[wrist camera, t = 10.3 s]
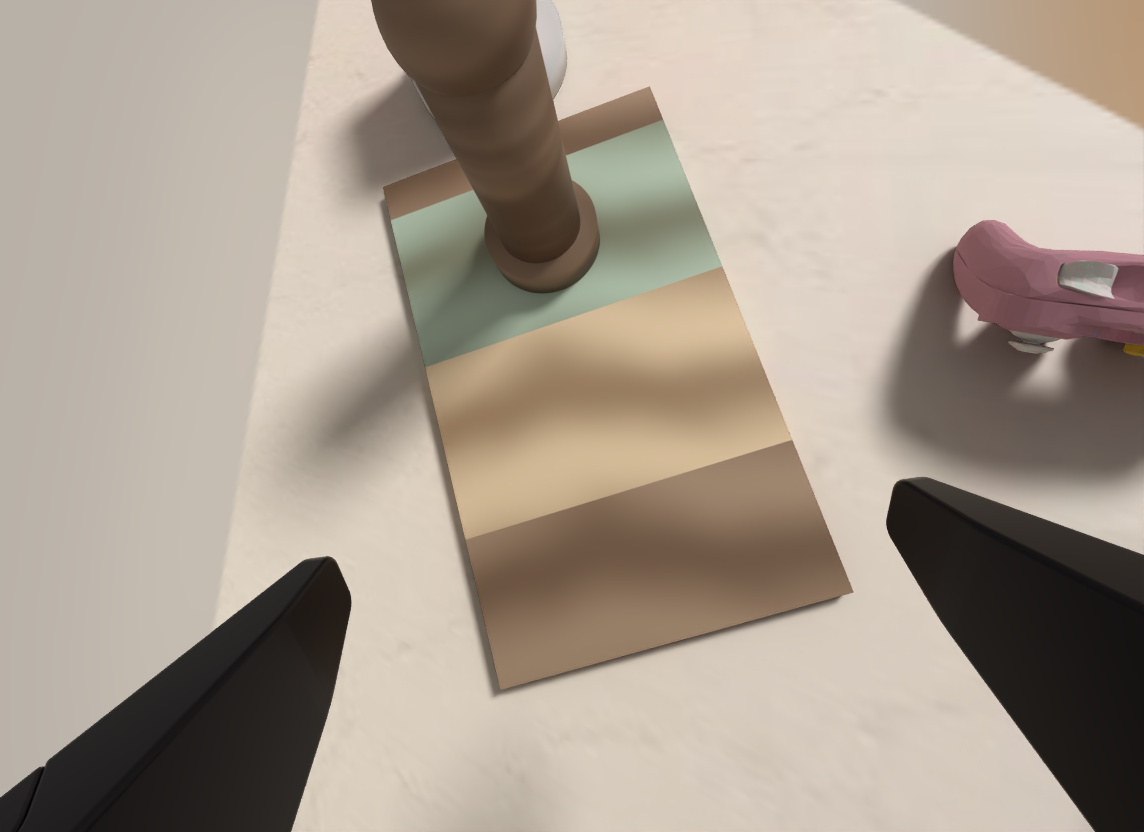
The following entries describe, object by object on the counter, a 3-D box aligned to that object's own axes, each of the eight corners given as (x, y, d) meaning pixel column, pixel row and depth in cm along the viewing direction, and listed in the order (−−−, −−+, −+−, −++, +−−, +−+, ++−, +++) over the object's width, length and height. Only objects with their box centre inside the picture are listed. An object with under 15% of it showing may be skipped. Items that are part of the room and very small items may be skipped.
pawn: (599, 291, 22) (532, -5, 10) (491, 295, 23) (297, 26, 10) (600, 191, 23) (541, -199, 11) (497, 198, 24) (326, -157, 11)
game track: (847, 590, 19) (853, 592, 19) (504, 685, 20) (500, 689, 20) (649, 96, 25) (649, 86, 24) (388, 194, 26) (382, 187, 25)
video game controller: (915, 330, 22) (1005, 352, 16) (952, 220, 21) (1068, 195, 14) (1180, 370, 20) (1408, 414, 14) (1239, 253, 19) (1523, 241, 13)
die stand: (585, 102, 25) (564, -39, 19) (438, 158, 26) (369, 40, 20) (543, -15, 27) (510, -180, 21) (406, 40, 28) (333, -103, 21)
